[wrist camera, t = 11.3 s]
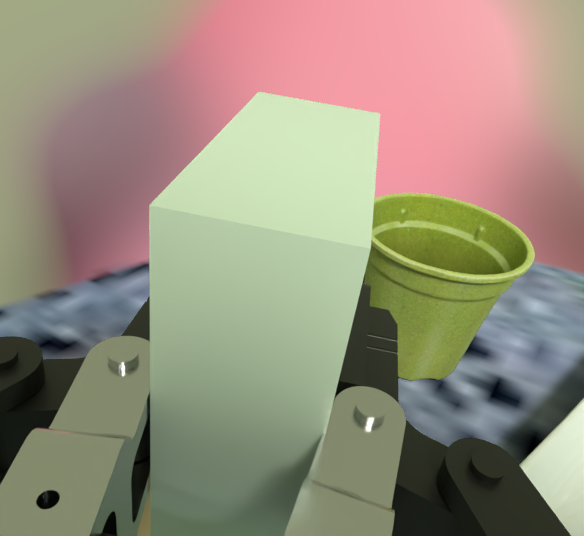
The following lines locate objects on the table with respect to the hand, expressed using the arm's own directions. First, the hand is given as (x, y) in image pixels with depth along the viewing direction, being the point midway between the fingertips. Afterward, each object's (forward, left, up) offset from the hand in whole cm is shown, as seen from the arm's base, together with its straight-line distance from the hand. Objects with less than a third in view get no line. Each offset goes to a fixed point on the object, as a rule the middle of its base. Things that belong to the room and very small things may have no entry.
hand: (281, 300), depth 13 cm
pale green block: (-1, +2, -9) cm, 10 cm away
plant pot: (+2, -18, -14) cm, 23 cm away
